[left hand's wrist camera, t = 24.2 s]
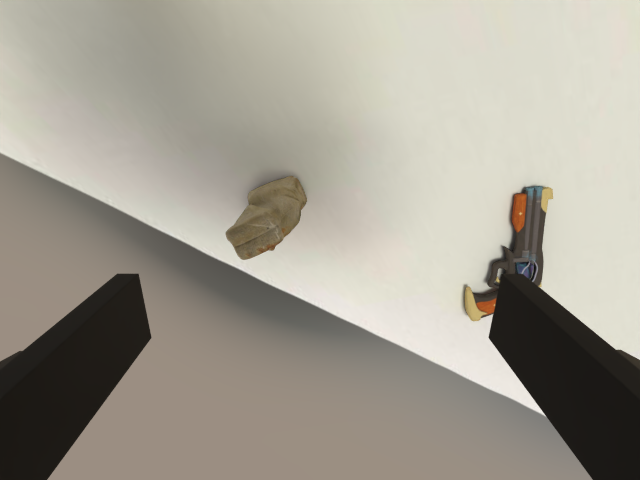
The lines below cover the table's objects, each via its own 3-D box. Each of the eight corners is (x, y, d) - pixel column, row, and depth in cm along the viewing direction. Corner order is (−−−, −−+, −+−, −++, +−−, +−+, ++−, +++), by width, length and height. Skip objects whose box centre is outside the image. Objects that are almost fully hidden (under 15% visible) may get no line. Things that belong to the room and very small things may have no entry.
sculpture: (244, 185, 45) (210, 219, 31) (295, 164, 44) (284, 190, 30) (263, 225, 47) (239, 274, 33) (313, 205, 46) (310, 248, 32)
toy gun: (467, 325, 50) (543, 324, 49) (473, 192, 45) (558, 187, 43) (462, 315, 53) (534, 314, 51) (467, 189, 47) (547, 184, 46)
